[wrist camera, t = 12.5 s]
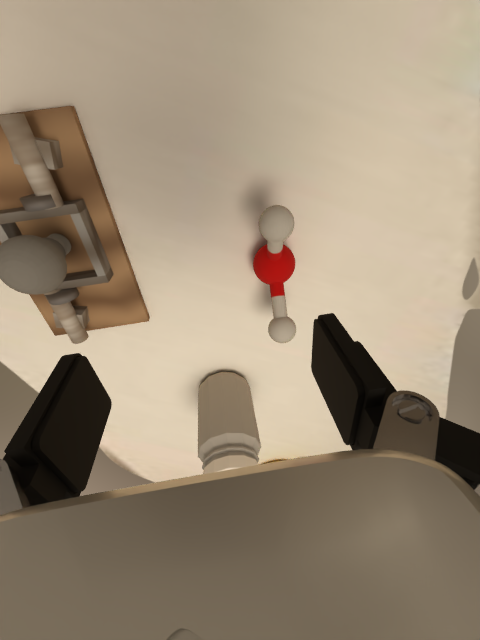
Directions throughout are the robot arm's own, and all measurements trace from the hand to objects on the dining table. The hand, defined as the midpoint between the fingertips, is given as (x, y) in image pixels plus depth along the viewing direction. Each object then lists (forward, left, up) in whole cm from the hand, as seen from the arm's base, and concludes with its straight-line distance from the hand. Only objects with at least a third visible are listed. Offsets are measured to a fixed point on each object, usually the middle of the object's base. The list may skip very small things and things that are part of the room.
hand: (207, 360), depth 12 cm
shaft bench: (+2, -18, -28) cm, 34 cm away
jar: (+33, -2, -28) cm, 44 cm away
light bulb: (+2, -18, -28) cm, 33 cm away
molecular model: (+8, +8, -28) cm, 31 cm away
